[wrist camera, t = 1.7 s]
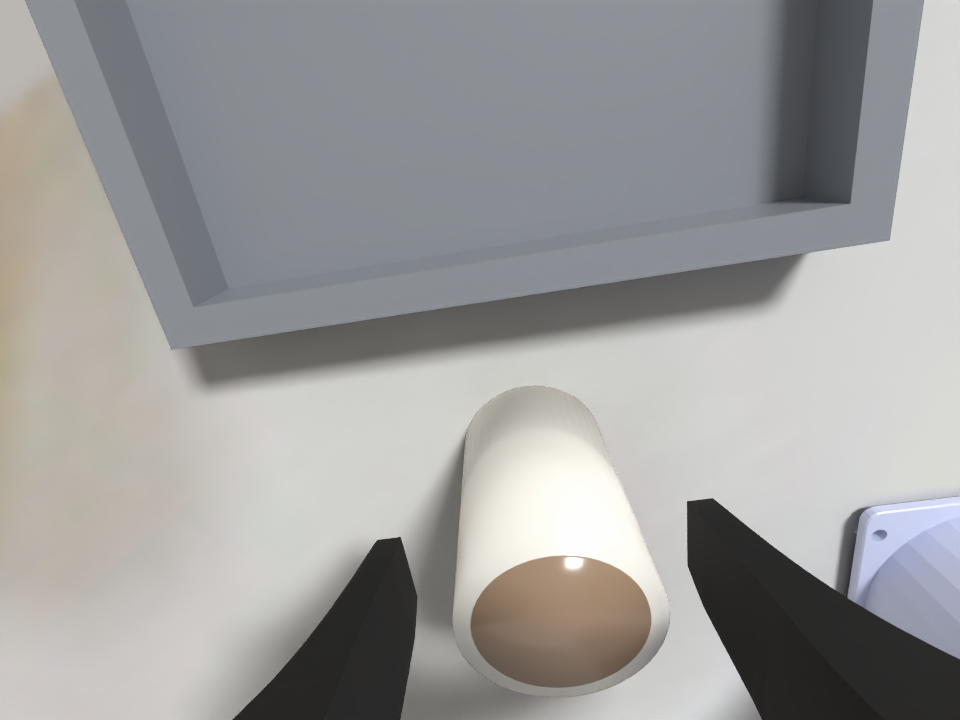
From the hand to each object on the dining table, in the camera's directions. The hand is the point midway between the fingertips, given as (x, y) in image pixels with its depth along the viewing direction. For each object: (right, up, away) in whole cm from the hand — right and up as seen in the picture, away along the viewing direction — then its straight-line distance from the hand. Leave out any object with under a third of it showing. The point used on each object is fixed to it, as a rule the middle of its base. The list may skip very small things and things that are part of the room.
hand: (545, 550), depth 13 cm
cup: (0, +2, +5) cm, 5 cm away
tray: (-2, +13, 0) cm, 13 cm away
